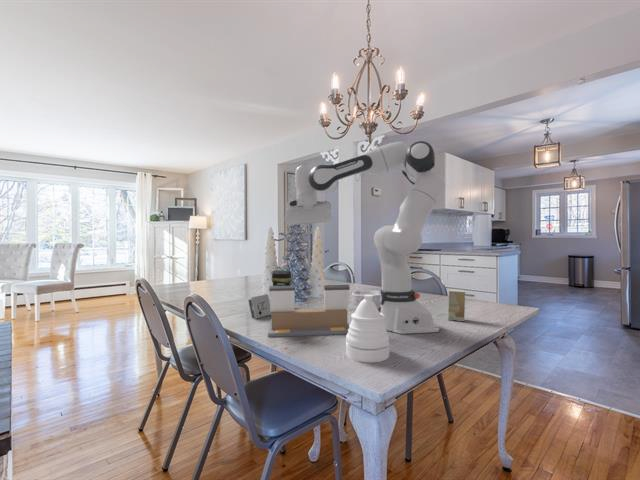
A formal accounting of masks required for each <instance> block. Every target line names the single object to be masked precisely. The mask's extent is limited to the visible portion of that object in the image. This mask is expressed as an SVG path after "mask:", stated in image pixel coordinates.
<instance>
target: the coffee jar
mask: <svg viewBox="0 0 640 480" xmlns="http://www.w3.org/2000/svg"><path fill="white" fill-rule="evenodd" d="M292 280H293V276H292V272H291V270H287V269H282V270H281V269H278V270H277V269H276V270H275V269H274V270H273V271H272V272H271V281H272V286H292V285H291V284H292Z"/></svg>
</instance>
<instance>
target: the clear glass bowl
mask: <svg viewBox="0 0 640 480" xmlns="http://www.w3.org/2000/svg"><path fill="white" fill-rule="evenodd" d="M380 293H381V290H380V291H379V290H366V289H365V290H358V291H357V290H355V291H353V292H351V303H352V304H353V305H354V306H355V309H357V307H358V305H359V304H360V302H361V301H362V300H364V299H365V298H364V295H373V299H372V301H373V302H374V303H375V305H376V307H377V308H378V310H379V309H380V308H381V302H380Z"/></svg>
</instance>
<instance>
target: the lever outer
mask: <svg viewBox="0 0 640 480" xmlns="http://www.w3.org/2000/svg"><path fill="white" fill-rule="evenodd" d="M295 290H296V285H291V286H273V285H270V286H269V290H268V291H269V302H270V311H295V309H296V308H295V307H296V304H295V303H296V302H295V299H296V297H295V296H296V294H295V293H296V291H295Z"/></svg>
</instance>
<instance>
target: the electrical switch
mask: <svg viewBox="0 0 640 480" xmlns="http://www.w3.org/2000/svg"><path fill="white" fill-rule="evenodd" d="M248 305H249V306H248V307H249V310H250V315H251V318H254V319H255V320H257V319H261V318H263V317H268V316H271V313H272V311H270V296H269V294H261V295H256V296H251V298H250V299H248Z"/></svg>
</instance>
